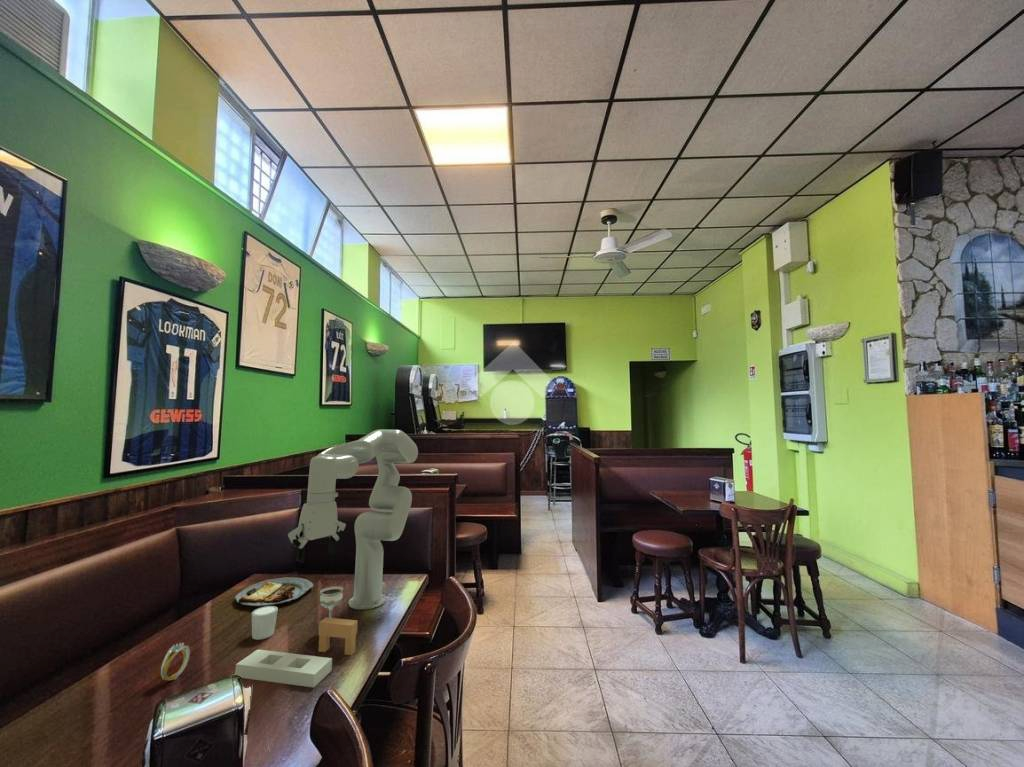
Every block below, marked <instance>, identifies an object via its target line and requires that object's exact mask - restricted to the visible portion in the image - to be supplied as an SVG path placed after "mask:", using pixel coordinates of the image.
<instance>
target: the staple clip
mask: <svg viewBox="0 0 1024 767" xmlns="http://www.w3.org/2000/svg"><path fill="white" fill-rule="evenodd" d="M358 622H359V621H358V620H356V619H345V618H337V617H331V618H329V616H328V617H324V618H323V619H322V620H320V621H319V622H318V636H319V637H318V652H319V653H326V652H327V651H328V650H329V649H330V645H331V644H330V640H331V638H338V639H339V638H340V639H345V640H344V655H347V656H352V655H353V654H354V653H355V652H356V644H357V642H356V641H357V640H356V639H357V633H358Z"/></svg>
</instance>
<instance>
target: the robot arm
mask: <svg viewBox="0 0 1024 767" xmlns="http://www.w3.org/2000/svg"><path fill="white" fill-rule="evenodd" d="M418 455H419V449H418V446H417V444H416V443H415V442H414V440H413V439H412V438H411V437H410V436H409V435H408V434H406V433H405V432H404V431H403V430H401V429H376V430H373V431H371V432H369V433H368V434H366V435H365V436H362V437H361V438H359V439H357V440H353V441H349V442H346V443H343V444H339V445H335V446H332V447H330V448H329V447H328V448H327V449H325V450H323V451H322V452H320V453H318V454H317V455H316V456H313V457H312V458H311V459H310V462H309V473H308V484H307V496H306V503H305V502H304V503H303V505H302V508H301V512H300V515H299V516H300V517H299V521H298V526H297V527H296V528H294V529H292V530H291V531H290V532H288V533H287V536H288V539H289V541H290V543H291V544H292V545H293V546H294V547H295V555H294V556H295V561H296V562H297V563H300V564H303V563H304V562H305V556H306V554H305V553H306V548H305V545H306V544H307V543H308V541H313V540H317V539H322V538H328V537H329V538H330V539H329V540H328V543H327V544H328V545H327V554H329V555H331V556H336V554H337V547H338V542H339V540H340V537H341V536H342V535H343V534H344V530H345V529H346V525H347V524H346V523H345V522H342V521H340V520H338V518H339V517H338V506H337V502H336V501H335V500H336V498H337V497H339V492H336V482H337V479H339V480H341V479H343V480H344V479H345V480H346V479H350V478H352V477H354V476H355V475H356V474H357V473H358V471H359V467H360V466H359V465H360V464H364V463H367V462H370V461H372V460H373V459H374V458H375V459H376V462H377V467H378V476H377V479H376V481H375V483H374V486H373V487H372V491H371V494H370V496H369V501H368V506H369V507H370V509H371V510H373V511H365V512H362V513H361V514H359V515H358V516H357V517H356V520H355V522H354V535H355V545H356V546H355V566H354V586H353V596H352V597H351V598H350V599H348V607H349V608H351V609H354V610H360V611H361V610H362V611H363V610H370V609H372V610H373V609H375V607H376V608H377V607H381V606H382V605H384V604H385V602H386V600H387V597H386V595H385V594H384V593H382V592H383V591H382V590H383V589H384V588H385V587H386V585H387V584H386V582H384V581H383V572H384V570H383V568H384V546H383V544H382V542H381V541H385V542H386V541H387V542H393V541H398V539H400V537H401V536H402V534H403V532H404V529H405V525H406V522H407V519H408V516H409V513H410V510H411V506H412V501H413V494H412V491H411V490H410V489H409V488H408V487H406V486H401V485H399V483H400V480H401V479H400V478H401V477H400V476H401V475H400V473H399V470H398V468H397V467H396V465H395V464H412V463H414V462H415V461H416V460H417V459H418ZM398 485H399V486H398ZM296 536H297V537H296ZM297 538H298V539H297Z"/></svg>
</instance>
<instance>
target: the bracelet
mask: <svg viewBox="0 0 1024 767" xmlns="http://www.w3.org/2000/svg"><path fill="white" fill-rule="evenodd" d="M179 652H181V653H182V655H183V660H182V663H181V666H180V668H179V669H178V670H177V672H175V673H173V674H172V675H170V676H168V669H169V668H170V665H171V663H172V662H173V660H174V659H175V658H176V656H177V655H178V654H179ZM172 653H173V654H172ZM171 654H172V655H171ZM170 655H171V656H170ZM190 655H191V650H190V647H189V645H185V642H179V644H178V643H176V644H172V646H171V647H170V648H168V651H167V652H166V654H165V655H164V659H163V661H162V663H161V667H160V677H161V678H162V680H165V681H168V682H170V681H174V680H176V679H178V678H179V676H180V675H181V674H182V673H183V671H185V669H186V667H187V666H188V663H189V661H190V658H191V657H190Z"/></svg>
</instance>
